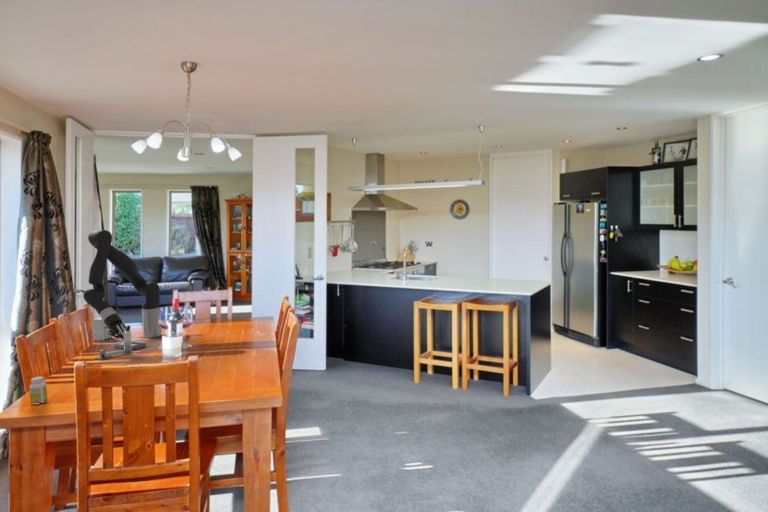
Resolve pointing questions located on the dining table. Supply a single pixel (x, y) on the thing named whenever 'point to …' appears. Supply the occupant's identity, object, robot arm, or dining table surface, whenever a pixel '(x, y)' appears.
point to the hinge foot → (103, 357)
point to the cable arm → (126, 350)
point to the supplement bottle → (38, 390)
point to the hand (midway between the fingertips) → (128, 342)
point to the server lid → (133, 345)
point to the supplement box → (100, 330)
